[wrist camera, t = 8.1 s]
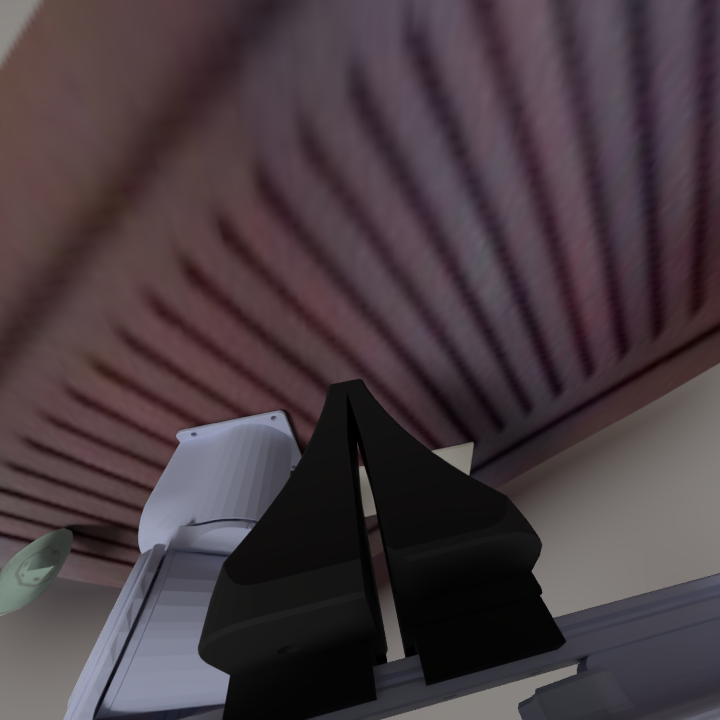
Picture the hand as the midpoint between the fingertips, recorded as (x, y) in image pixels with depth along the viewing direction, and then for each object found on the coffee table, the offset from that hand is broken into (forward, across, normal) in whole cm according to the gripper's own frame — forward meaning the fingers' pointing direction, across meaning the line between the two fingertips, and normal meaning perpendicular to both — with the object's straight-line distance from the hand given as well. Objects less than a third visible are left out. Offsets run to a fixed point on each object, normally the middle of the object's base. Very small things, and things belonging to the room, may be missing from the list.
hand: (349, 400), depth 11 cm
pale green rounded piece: (+11, +32, +18) cm, 38 cm away
